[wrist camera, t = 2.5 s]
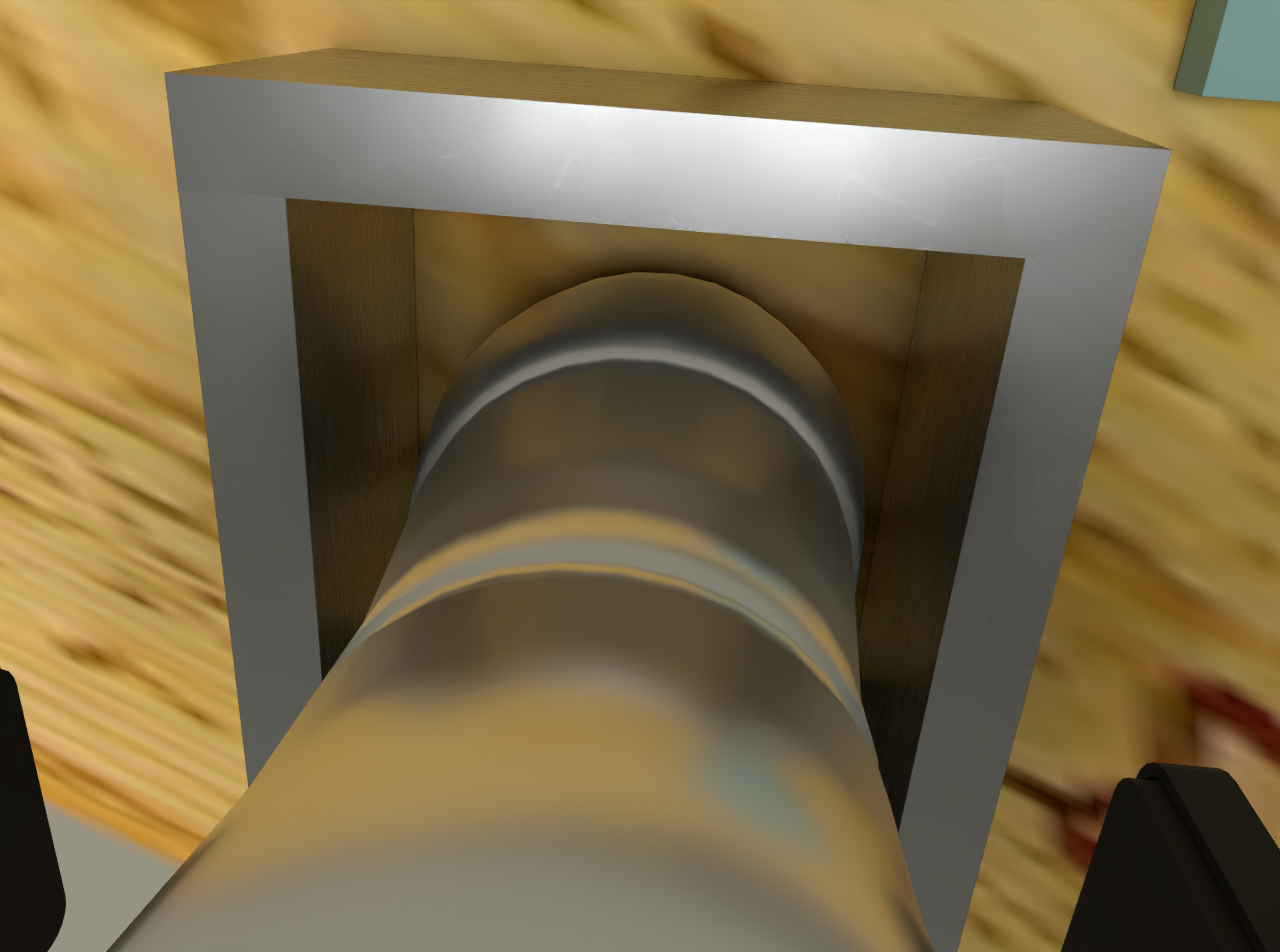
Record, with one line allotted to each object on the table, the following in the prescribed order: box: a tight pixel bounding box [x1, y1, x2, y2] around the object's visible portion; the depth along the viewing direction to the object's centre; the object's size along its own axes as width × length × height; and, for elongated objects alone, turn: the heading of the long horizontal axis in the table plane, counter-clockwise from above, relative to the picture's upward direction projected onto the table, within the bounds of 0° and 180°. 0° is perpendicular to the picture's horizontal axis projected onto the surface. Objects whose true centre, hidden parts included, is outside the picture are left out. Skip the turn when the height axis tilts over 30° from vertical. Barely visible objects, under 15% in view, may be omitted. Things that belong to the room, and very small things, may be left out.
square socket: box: [165, 49, 1172, 952], centre depth 16 cm, size 11×10×5 cm
